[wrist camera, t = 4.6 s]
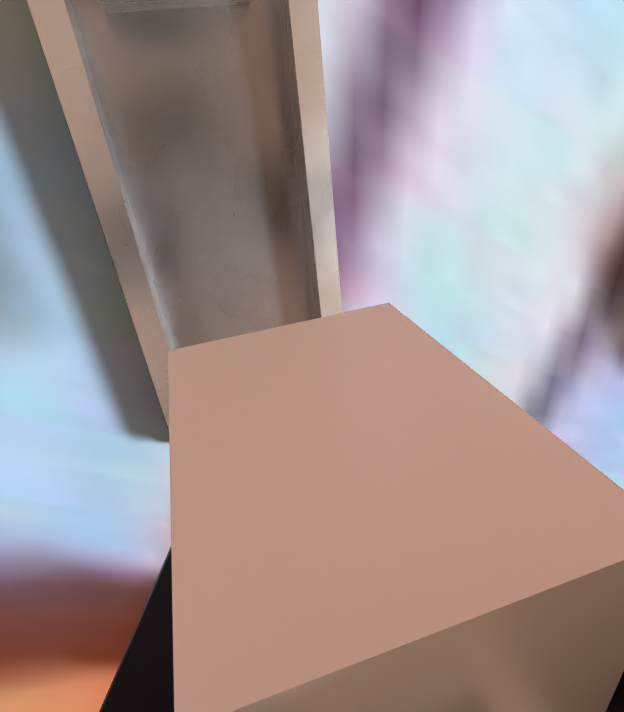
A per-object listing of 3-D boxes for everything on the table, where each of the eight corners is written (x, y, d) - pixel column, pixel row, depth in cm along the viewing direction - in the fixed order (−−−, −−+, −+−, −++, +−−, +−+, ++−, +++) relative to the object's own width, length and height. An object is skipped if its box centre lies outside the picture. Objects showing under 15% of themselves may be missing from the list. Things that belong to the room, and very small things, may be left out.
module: (393, 525, 11) (599, 886, 6) (235, 577, 10) (308, 1048, 5) (388, 302, 8) (787, 619, 3) (168, 350, 7) (176, 900, 2)
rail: (339, 401, 21) (408, 510, 15) (176, 444, 20) (182, 584, 14) (280, -241, 11) (408, -634, 5) (-51, -253, 10) (-373, -815, 4)
